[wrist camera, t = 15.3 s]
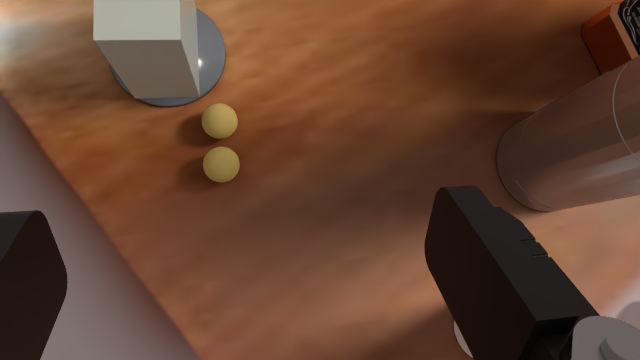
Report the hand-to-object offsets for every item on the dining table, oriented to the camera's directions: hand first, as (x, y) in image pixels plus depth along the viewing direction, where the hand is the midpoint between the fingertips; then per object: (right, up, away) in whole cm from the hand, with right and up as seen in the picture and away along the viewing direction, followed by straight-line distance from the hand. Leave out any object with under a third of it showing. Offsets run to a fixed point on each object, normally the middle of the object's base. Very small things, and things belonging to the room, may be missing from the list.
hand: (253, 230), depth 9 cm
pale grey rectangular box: (-12, +12, +30) cm, 34 cm away
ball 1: (-7, +6, +30) cm, 31 cm away
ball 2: (-7, +2, +29) cm, 30 cm away
